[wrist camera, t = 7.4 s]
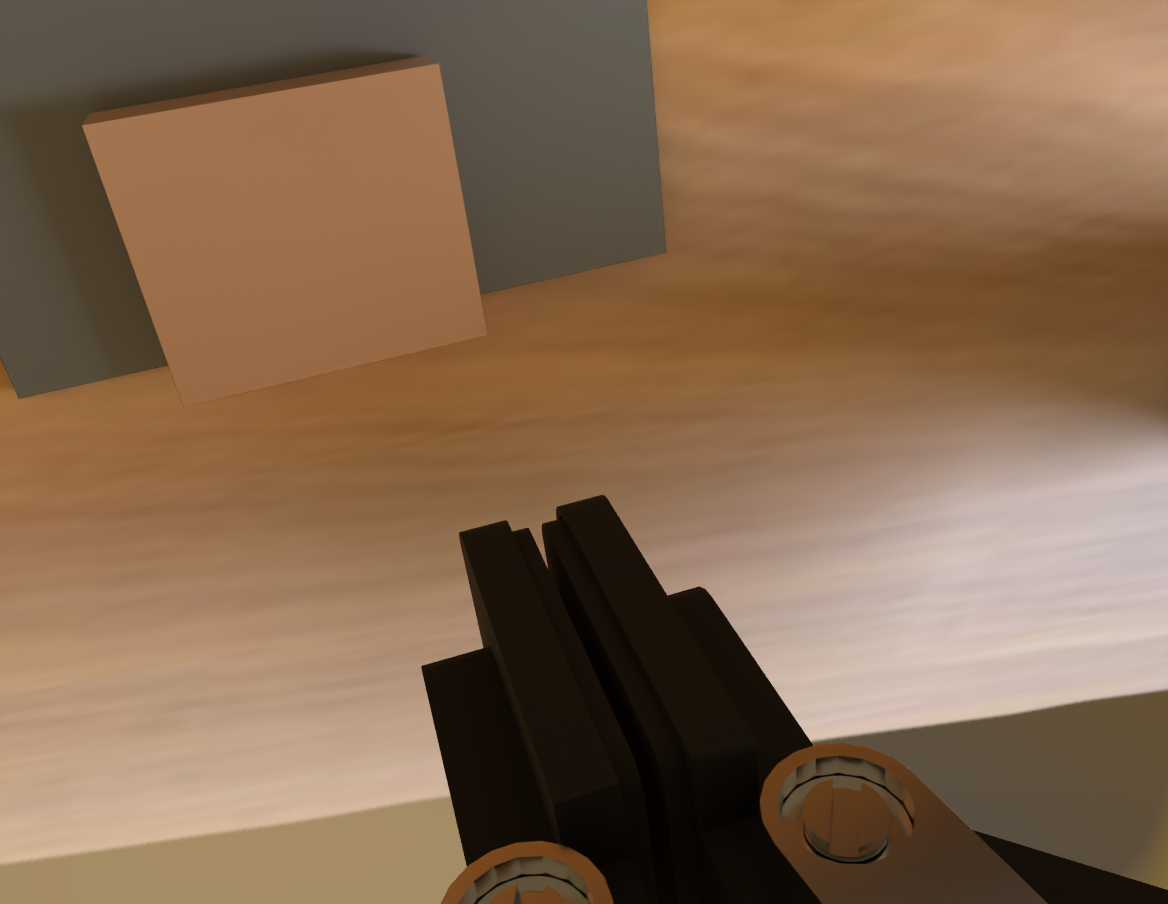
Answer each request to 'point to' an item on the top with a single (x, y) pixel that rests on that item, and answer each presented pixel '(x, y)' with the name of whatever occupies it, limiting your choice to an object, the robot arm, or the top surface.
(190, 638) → the top surface
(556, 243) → the mat
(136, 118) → the tile terracotta
